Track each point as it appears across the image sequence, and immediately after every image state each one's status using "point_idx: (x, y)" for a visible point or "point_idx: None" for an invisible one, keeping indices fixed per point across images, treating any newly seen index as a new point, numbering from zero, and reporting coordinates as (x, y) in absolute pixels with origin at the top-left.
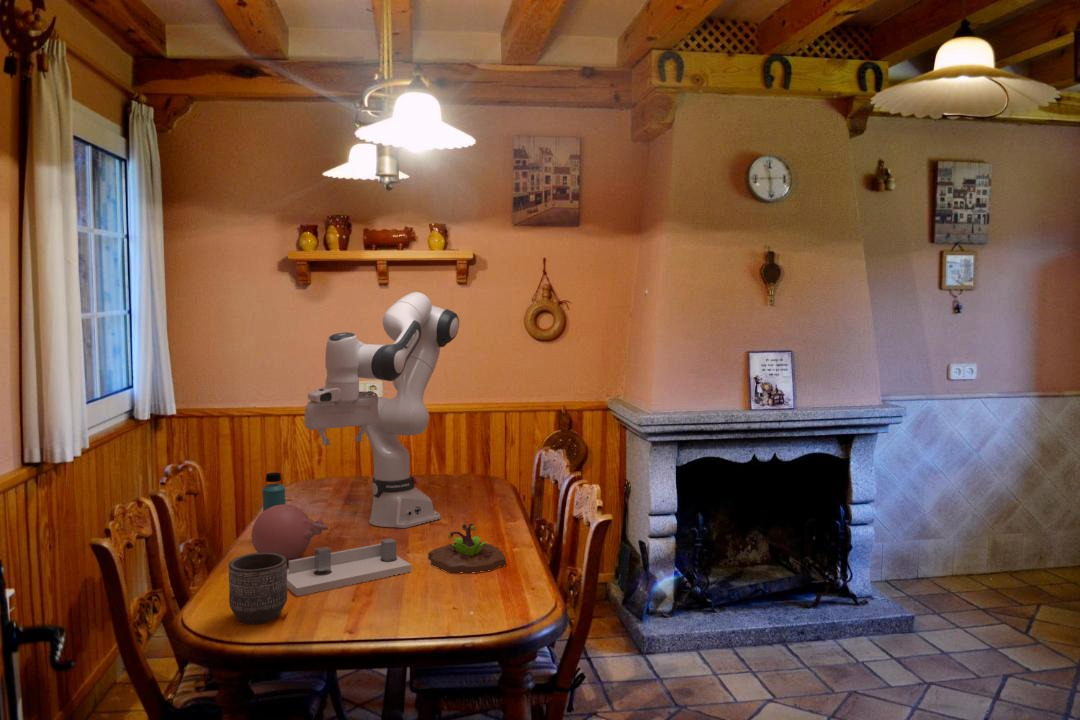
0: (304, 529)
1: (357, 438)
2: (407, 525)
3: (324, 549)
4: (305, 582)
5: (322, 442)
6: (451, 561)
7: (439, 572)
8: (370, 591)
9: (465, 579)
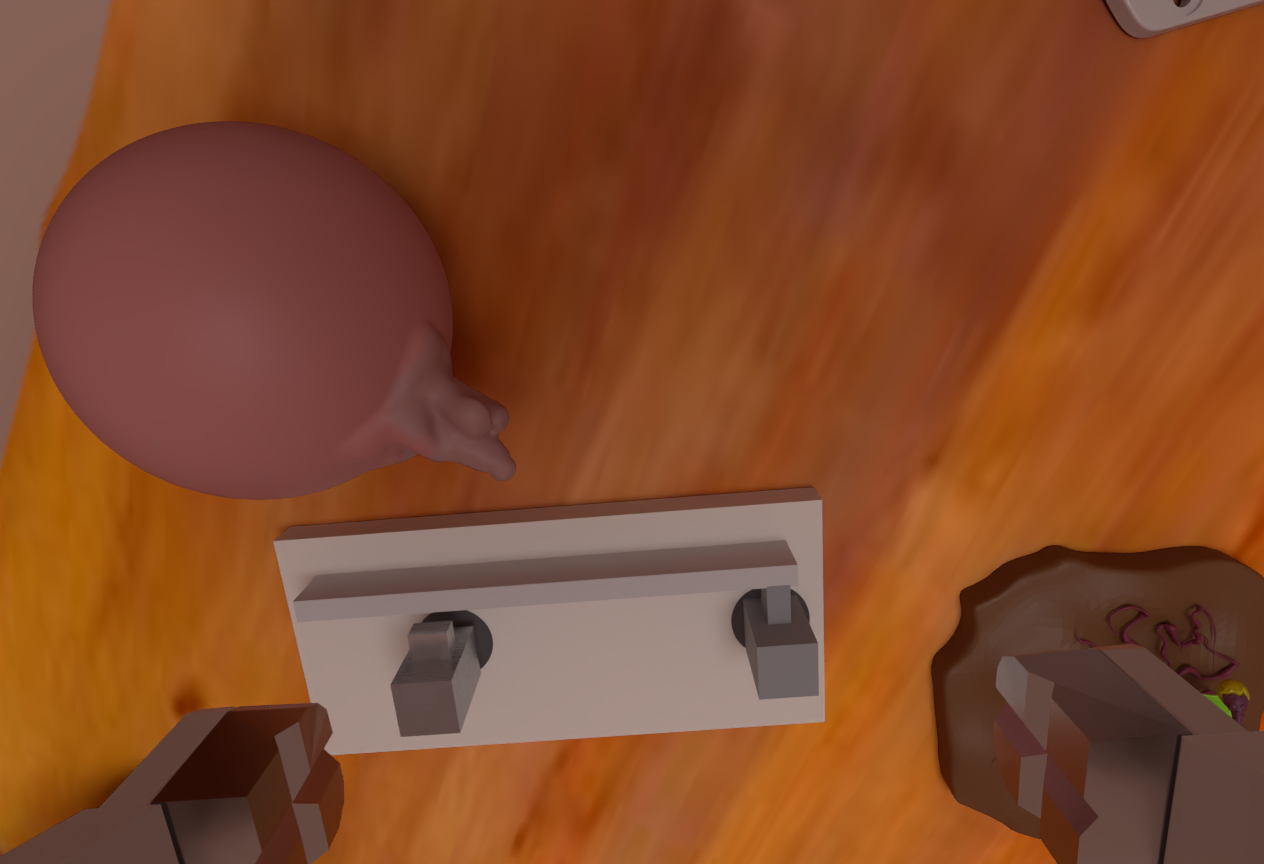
0: (366, 467)
1: (1045, 782)
2: (1169, 30)
3: (433, 716)
4: (365, 714)
5: (178, 739)
6: (982, 786)
7: (913, 750)
8: (597, 802)
9: (957, 851)
